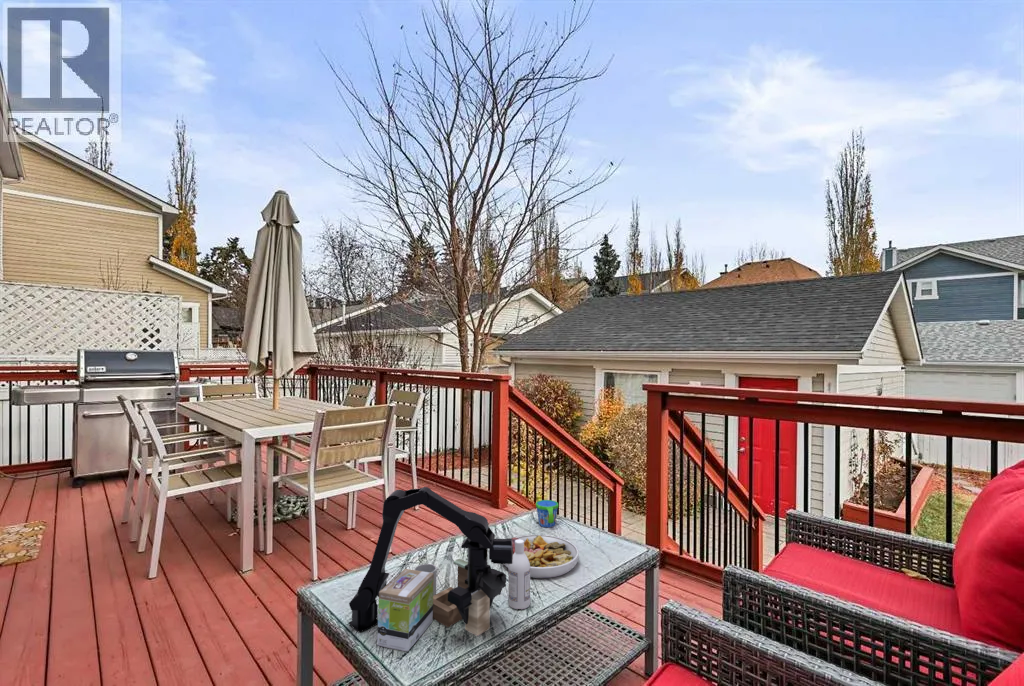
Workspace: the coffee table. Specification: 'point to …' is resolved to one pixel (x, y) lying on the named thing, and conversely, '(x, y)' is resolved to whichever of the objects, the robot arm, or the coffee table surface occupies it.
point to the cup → (430, 569)
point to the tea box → (405, 609)
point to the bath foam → (519, 578)
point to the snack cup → (547, 512)
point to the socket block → (442, 607)
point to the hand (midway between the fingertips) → (477, 616)
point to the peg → (479, 614)
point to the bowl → (548, 555)
